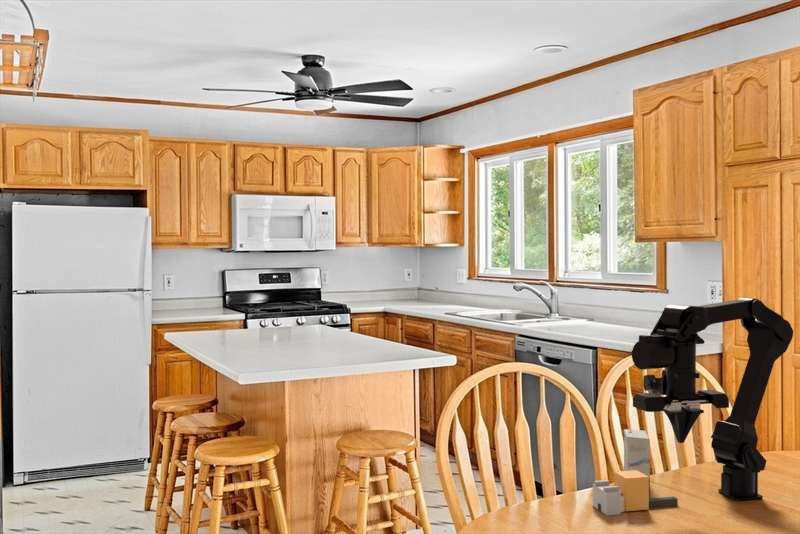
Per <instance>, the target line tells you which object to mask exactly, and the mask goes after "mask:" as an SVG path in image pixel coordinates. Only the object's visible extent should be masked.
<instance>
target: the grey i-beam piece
mask: <svg viewBox="0 0 800 534" xmlns="http://www.w3.org/2000/svg"><path fill="white" fill-rule="evenodd" d="M598 504H601V506H599V507H601V510H600V511H599V512H601V513H603V514H604V515H605V516H606V517H607V516H617V515H618V516H619V515H621V513H622V512H621V492H620V491H619V487H618V486H614V485H610V480H608V479H606V480H605V479H604V480H601V479H600V480H594V481H593V483H592V507H594V508H595V509H597V510H598Z"/></svg>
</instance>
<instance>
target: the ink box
mask: <svg viewBox="0 0 800 534" xmlns="http://www.w3.org/2000/svg"><path fill="white" fill-rule="evenodd" d="M650 447H651V446H650V437H649V435H648V433H647V431H646V430H642V429H641V430H640V429H627V428H626V429H625V428H624V429H623V471H631V470H637V471H639V472H641V473H643V474H645V475H646V476H648V477H649V493H650V492H651V480H650V479H651V470H650V468H651V467H650V465H651V464H650V463H651V462H650V461H651V460H650V459H651V457H650V451H651V449H650Z"/></svg>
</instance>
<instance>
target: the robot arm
mask: <svg viewBox="0 0 800 534" xmlns="http://www.w3.org/2000/svg"><path fill="white" fill-rule="evenodd" d="M736 320H739V321H740V323H741V327H742V328H744V329H745V331H746V332H747V339H746V343H747V345H748V350H749V357H748V360H747V363H746V366H745V368H744V372H743V374H742V375H743V376H742V378H741V381H740V384H739V388H738V390H737V394H736V396H735V400H734V402H733V405H732V409H731V412H730V415H729V416H728V417H727V418H726V419H725V420H724V421H722V420H721V419H720V420H717V421H716V423H715V425H714V431H713V432H712V434H711V436H710V438H711V439H712V440H711V443H710V444H711V446H710V447H711V448H712V450H713V452H714V453H713V454H714V456H715V460H716V463H718V464H721V465H722V472H721V474H720V475H721V476H720V488H719V489H718V490H717V491H718V493H721V494H722V495H725V496H726V497H729V498H731V499H733V500H735V501H746V500H748V501H749V500H756V499H757V500H758V499H763V498H764V496H763V495H762V494H760V493H759V489H758V488H759V481H758V480H759V479H758V478H759V473H761V472H762V471H765V468H766V464H767V459H766V458H765V457H764V456H763V455H762V453H761V452H760V451H759V450H758V449H757V447H758V442H759V441H758V440H759V437H758V433H757V429H756V427H755V424H756V421H757V418H758V414H759V411H760V409H761V405H762V401H763V398H764V396H765V393H766V391H767V387H768V383H769V381H770V376H771V375H772V372H773V367H774V364H775V362H776V361H777V360H778V359H779V358H780V357H782V356H783V355H784V353H786V352H787V350H788V348H789V346H790V344H791V342H792V340H793V337H794V329H793V328H792V326H791V323H790V321H788V320H787V319H785V318H784V316H782V315H781V314H779V313H778V312H775V311H774V310H773V309H771V308H769V307H767V306H766V305H765V304H764V302H763V301H761V299H758V298H751V297H740V298H739V297H738V298H736V299H731V300H726V301H720V302H716V303H707V304H703V305H687V304H686V305H685V304H668V305H665V307H664V308H663V310H662V312H661V315H660V317H659V318H658V321H657V322H656V323H655V326H654V327H653V329H652V331H651V332H650V335H646V334H640V335H639V336H638V341H637V342H635V344H634V345H633V347H632V350H631V358H632V363H633V364H634V366H635V367H636V368H637V369H639V370H642V371H643V370H654V369H662V371H661V377H656V375H655V374H646V375H643V380H642V385H643V389H644V391H645V392H637V393H635V395H634V396H633V398H632V407H633V408H635V409H638V410H641V411H643V412H647V413H652V412H653V413H655V412H664V414H665V415H666V416H667V418H668V420H669V423H670V425H671V428H672V431H673V433H674V436H675V438H676V442H677V443H679V444H684V443H685V442H686V439H687V437H688V435H689V434H690V432H691V429H692V428H693V426H694V424H695V423H696V421H697V419H698V418H699V416H700V415H701V414H704V413H705V410H704V409H702V408H701V405H705V404H706V405H707V404H709V405H712V406H713V407H714V408H715V409H729V408H730V398H729V396H728V395H727V394H726V393H724V392H721V391H718V390H714V389H702V390H701V389H700V390H699V389H698V390H697V389H696V387H697V386H696V385H697V380H696V379H700V377H701V376H700V375H701V373H699V372H697V365H696V364H697V359H696V358H697V356H696V355H697V345H703V344H705V340H704V339H703V338H702V337H701V336H700V335H699V334H698V333H699V332H700V333H701V332H702V331H705V330H706V329H707V327H708V326H711V325H714V324H720V323H725V322H730V321H736ZM664 368H665V369H664ZM648 391H649V392H648ZM661 395H662V396H661Z"/></svg>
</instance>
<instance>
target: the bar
mask: <svg viewBox="0 0 800 534" xmlns="http://www.w3.org/2000/svg"><path fill="white" fill-rule="evenodd" d="M678 502H679V501H678V498H677V497H676V496H663V497H651V498H650V497H649V509H650V508H661V507H663V508H664V507H674V506H679V505H678ZM599 506H601V504H598V509H597V510H598V511H599V512H601V511H600V510H601V507H599Z"/></svg>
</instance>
